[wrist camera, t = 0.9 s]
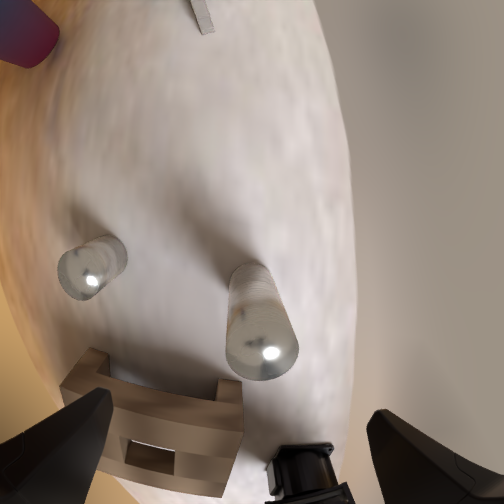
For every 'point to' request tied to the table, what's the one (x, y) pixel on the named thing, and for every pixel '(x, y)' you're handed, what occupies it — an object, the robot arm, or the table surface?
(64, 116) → the table surface
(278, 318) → the long pin
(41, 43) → the cup
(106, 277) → the short pin
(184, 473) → the board
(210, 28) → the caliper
